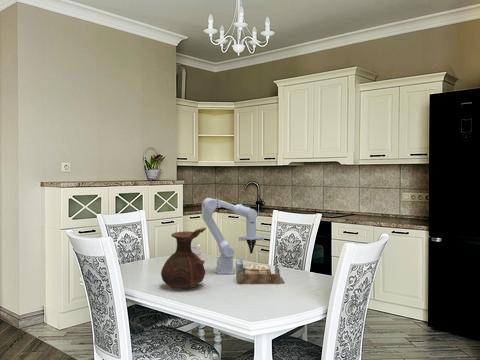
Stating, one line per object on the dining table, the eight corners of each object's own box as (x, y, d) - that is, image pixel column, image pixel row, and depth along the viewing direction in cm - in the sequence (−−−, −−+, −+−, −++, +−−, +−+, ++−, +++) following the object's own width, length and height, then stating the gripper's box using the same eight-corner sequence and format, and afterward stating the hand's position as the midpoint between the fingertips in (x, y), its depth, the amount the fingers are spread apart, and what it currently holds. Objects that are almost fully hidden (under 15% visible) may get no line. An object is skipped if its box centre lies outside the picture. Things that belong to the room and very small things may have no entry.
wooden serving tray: (237, 284, 230) (237, 264, 230) (236, 278, 243) (236, 259, 243) (280, 283, 231) (280, 264, 231) (276, 277, 244) (276, 259, 244)
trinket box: (273, 281, 236) (273, 266, 235) (245, 283, 232) (245, 268, 232) (266, 276, 249) (266, 261, 248) (239, 277, 245) (240, 262, 245)
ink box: (201, 263, 281) (201, 239, 280) (198, 265, 276) (198, 241, 276) (188, 262, 283) (189, 239, 283) (185, 264, 279) (185, 240, 278)
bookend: (277, 283, 232) (277, 269, 232) (274, 277, 244) (274, 264, 244) (284, 283, 232) (284, 269, 232) (281, 277, 245) (281, 264, 244)
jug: (167, 294, 210) (167, 230, 210) (156, 283, 230) (157, 225, 230) (211, 289, 219) (211, 228, 218) (197, 279, 239) (197, 223, 238)
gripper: (238, 230, 256) (239, 254, 256) (264, 230, 256) (264, 254, 257) (238, 229, 263) (238, 252, 263) (263, 228, 263) (263, 251, 264)
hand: (251, 253), depth 260 cm, fingers closed
